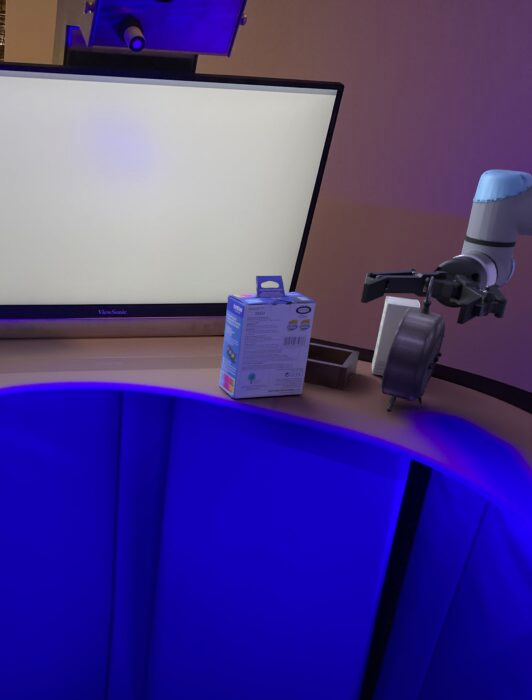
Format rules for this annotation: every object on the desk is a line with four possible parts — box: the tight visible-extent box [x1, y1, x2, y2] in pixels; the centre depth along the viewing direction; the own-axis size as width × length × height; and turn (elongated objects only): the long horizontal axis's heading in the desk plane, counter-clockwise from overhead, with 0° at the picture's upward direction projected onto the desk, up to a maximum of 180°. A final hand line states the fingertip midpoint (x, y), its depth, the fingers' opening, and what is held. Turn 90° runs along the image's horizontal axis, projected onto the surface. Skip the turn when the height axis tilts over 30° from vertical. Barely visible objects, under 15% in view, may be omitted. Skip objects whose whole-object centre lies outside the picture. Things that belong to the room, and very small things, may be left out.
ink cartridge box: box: [218, 275, 317, 399], centre depth 106 cm, size 10×6×14 cm, turn 106°
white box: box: [371, 295, 421, 377], centre depth 116 cm, size 5×4×10 cm
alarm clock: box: [380, 276, 446, 413], centre depth 103 cm, size 11×5×16 cm, turn 149°
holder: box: [304, 342, 360, 390], centre depth 115 cm, size 8×8×3 cm
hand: (411, 303), depth 117 cm, fingers open, 13 cm apart
